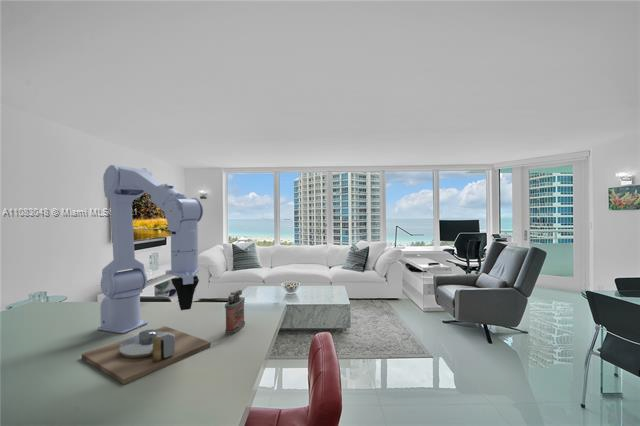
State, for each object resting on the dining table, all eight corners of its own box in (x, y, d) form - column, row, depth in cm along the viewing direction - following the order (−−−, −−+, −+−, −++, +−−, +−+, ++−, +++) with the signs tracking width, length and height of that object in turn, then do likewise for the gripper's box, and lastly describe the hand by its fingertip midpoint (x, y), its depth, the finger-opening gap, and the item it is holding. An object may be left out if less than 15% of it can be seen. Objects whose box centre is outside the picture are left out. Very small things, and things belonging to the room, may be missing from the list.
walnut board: (81, 358, 69) (81, 333, 69) (165, 329, 85) (164, 309, 85) (124, 384, 58) (123, 355, 58) (210, 346, 74) (210, 323, 74)
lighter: (234, 335, 81) (233, 296, 81) (222, 334, 82) (221, 295, 81) (247, 323, 89) (247, 288, 89) (236, 323, 89) (236, 287, 89)
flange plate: (159, 333, 79) (158, 318, 79) (192, 346, 71) (192, 330, 71) (110, 349, 70) (110, 332, 70) (142, 367, 62) (142, 348, 62)
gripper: (164, 248, 77) (164, 303, 77) (166, 255, 64) (167, 321, 65) (194, 246, 81) (195, 299, 81) (203, 253, 68) (204, 316, 68)
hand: (185, 308), depth 73 cm, fingers closed
